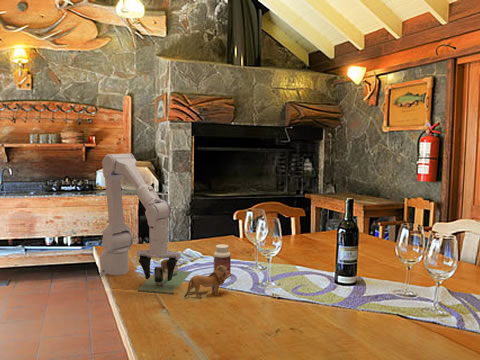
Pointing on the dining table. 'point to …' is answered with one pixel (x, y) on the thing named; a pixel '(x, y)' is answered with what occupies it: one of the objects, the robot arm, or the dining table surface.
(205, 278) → the lion figurine
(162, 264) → the walnut block
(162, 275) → the lever
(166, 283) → the green flat rectangular slab
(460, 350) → the dining table surface
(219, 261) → the pill bottle
